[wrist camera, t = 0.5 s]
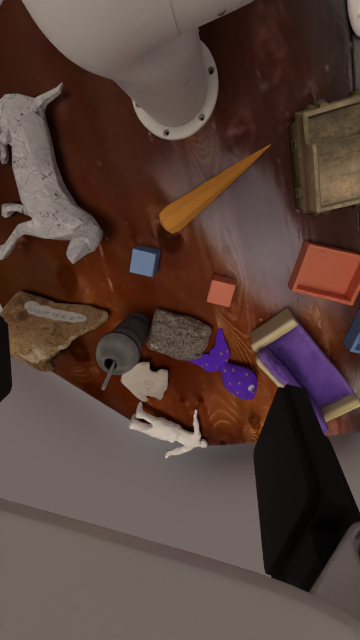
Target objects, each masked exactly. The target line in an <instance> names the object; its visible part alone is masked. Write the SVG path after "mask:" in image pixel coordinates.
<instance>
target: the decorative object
mask: <svg viewBox="0 0 360 640" xmlns="http://www.w3.org/2000/svg"><path fill="white" fill-rule="evenodd" d="M167 381H168V370H164V369H160V370H158V371H157V372H154V371H151V370H150V363H149V362H140V363H137V365H136V366H135V367H134V368H133V369H132V370H130V371H128V372H127V373H125V374H122V377H121V382H122V383H123V384H124V385H125V386H126V387H127V388H128V389H129V390H130V391H131V392H132V393H133V394H134V395H135V396H136V397H137V398H139V399H140V400H141V401H143V402H146V401H148V398H147V397H146V396H151V397H156V398H157V399H158V400H161V399H162V397H163V394H164V391H165V390H166V389H167V386H168V382H167Z"/></svg>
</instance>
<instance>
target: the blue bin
mask: <svg viewBox="0 0 360 640" xmlns="http://www.w3.org/2000/svg"><path fill="white" fill-rule="evenodd" d="M343 343H344V344H345V346H346V347H347V348H348V350H349V351H351V352H355V353H359V354H360V308H359V310H358V312H357V314H356V316H355V318H354V320H353V322H352V324H351V326H350V328H349V330H348V332H347V334H346V336H345V338H344V340H343Z"/></svg>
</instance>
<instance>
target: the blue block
mask: <svg viewBox="0 0 360 640" xmlns="http://www.w3.org/2000/svg"><path fill="white" fill-rule="evenodd" d="M160 253H161V250H159V249H155V248H150V247H146V246H142V245H138V246H137V247H135V248H134V249H133V252H132V259H131V267H130V272H133V273H137V274H141V275H145V276H150V277H153V276H154V274H155V273H156V272H157V270H158V264H159V258H160Z"/></svg>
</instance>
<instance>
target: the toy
mask: <svg viewBox="0 0 360 640" xmlns="http://www.w3.org/2000/svg"><path fill="white" fill-rule="evenodd" d="M209 354H210V355H208V354H204V355H202V356H201V357H200V358H199V359H196V360H187V361H189V362H192V363H195V364H197V365H198V366H200V367H202V368H203V369H205V370H207V371H209V372H215V371H218V370H220V371H221V372H222V380H223V384H224V386H225V387H226V389H227V390H228V391H230V392H231V393H232V394H234V395H236V396H237V397H239V398H241V399H245V400H247V399H251V400H252V399H253V398H254V396H255V393H256V390H257V378H256V375H255V373H254V372H253V371H252V370H250V369H249V368H246V367H243V366H239V365H235V364H231V363H228V362H227V361H228V360H229V358H230V351H229V348H228V346H227V344H226V342H225V339H224V337H223V330H222V328H221V329H219V331H218V332H217V335H216V343H215V346H214V348H213V349H211V350H210V352H209Z"/></svg>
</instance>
